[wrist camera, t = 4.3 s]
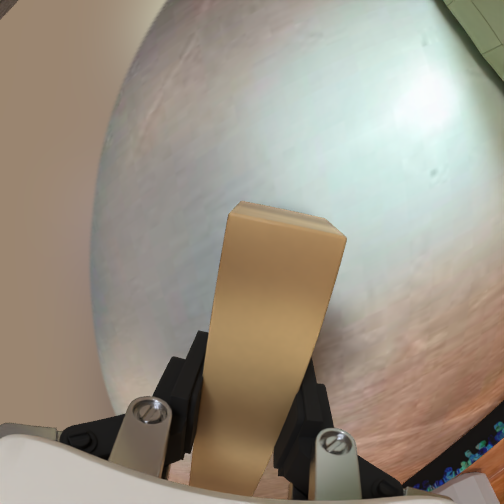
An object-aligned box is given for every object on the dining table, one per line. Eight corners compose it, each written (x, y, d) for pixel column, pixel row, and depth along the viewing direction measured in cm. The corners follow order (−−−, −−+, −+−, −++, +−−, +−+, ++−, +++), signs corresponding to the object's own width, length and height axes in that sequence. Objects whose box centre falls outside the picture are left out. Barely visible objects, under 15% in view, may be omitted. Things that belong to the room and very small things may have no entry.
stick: (240, 200, 10) (228, 212, 7) (326, 218, 10) (348, 237, 7) (198, 448, 14) (188, 490, 11) (253, 458, 14) (250, 501, 11)
